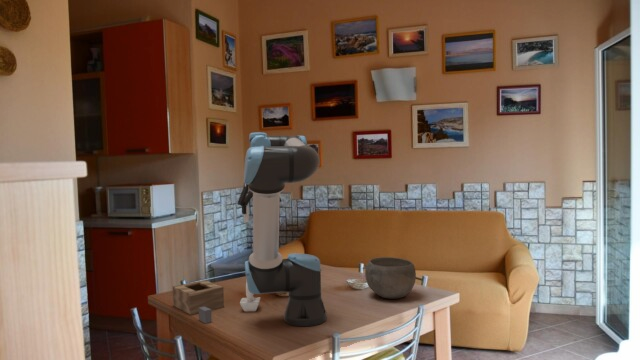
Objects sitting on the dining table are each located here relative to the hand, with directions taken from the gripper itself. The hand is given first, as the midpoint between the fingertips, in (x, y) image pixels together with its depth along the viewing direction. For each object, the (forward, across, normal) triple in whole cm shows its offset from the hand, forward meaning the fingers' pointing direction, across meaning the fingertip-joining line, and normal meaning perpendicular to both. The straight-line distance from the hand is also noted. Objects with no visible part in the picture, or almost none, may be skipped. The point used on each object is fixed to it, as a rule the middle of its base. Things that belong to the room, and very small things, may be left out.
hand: (260, 220), depth 191 cm
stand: (+33, +31, +10) cm, 46 cm away
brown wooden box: (+33, +25, -8) cm, 42 cm away
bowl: (+33, -40, +36) cm, 63 cm away
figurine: (+33, +12, +10) cm, 36 cm away
